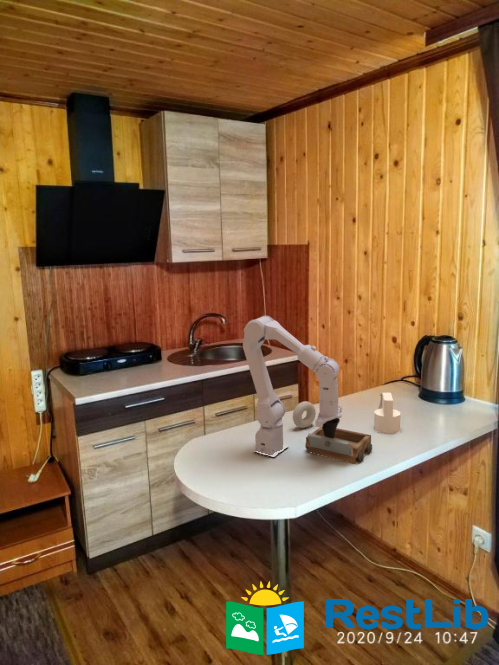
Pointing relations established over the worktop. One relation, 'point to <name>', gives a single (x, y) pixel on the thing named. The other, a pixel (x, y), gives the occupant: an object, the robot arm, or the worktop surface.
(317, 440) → the tailgate
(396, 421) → the cylinder with rectangular tab
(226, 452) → the worktop surface
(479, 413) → the worktop surface
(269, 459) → the worktop surface
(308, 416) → the donut
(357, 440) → the box
